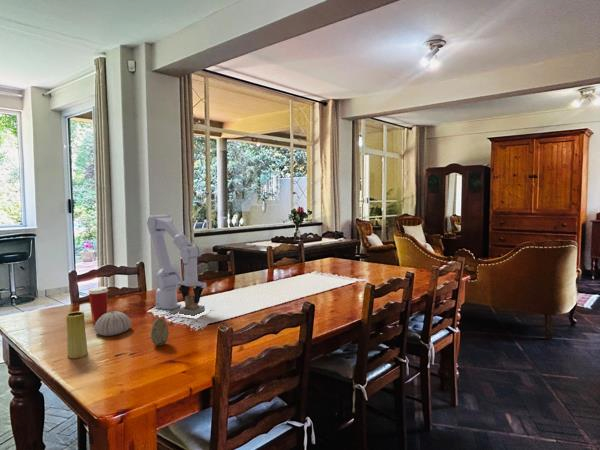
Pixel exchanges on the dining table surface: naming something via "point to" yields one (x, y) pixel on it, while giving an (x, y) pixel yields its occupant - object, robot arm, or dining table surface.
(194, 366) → the dining table surface
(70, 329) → the vase
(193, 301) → the square peg
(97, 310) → the paper cup
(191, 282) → the robot arm
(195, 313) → the grey square socket
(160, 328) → the decorative egg
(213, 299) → the dining table surface
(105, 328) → the sea urchin shell
